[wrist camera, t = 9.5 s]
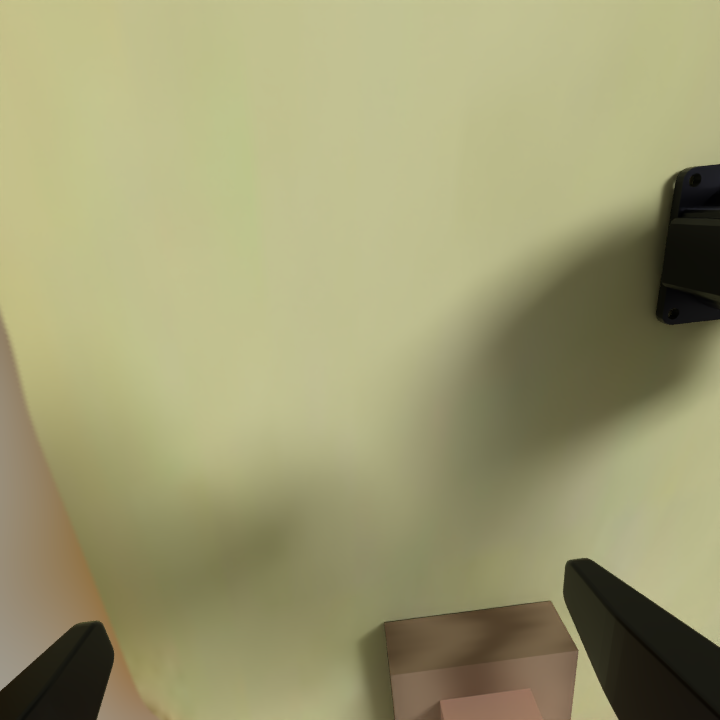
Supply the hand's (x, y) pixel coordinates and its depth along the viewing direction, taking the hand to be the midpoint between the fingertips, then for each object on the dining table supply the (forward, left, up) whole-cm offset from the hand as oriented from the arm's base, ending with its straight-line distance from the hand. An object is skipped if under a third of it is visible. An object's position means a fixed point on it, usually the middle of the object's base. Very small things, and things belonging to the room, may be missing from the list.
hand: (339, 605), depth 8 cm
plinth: (-6, +21, -12) cm, 25 cm away
